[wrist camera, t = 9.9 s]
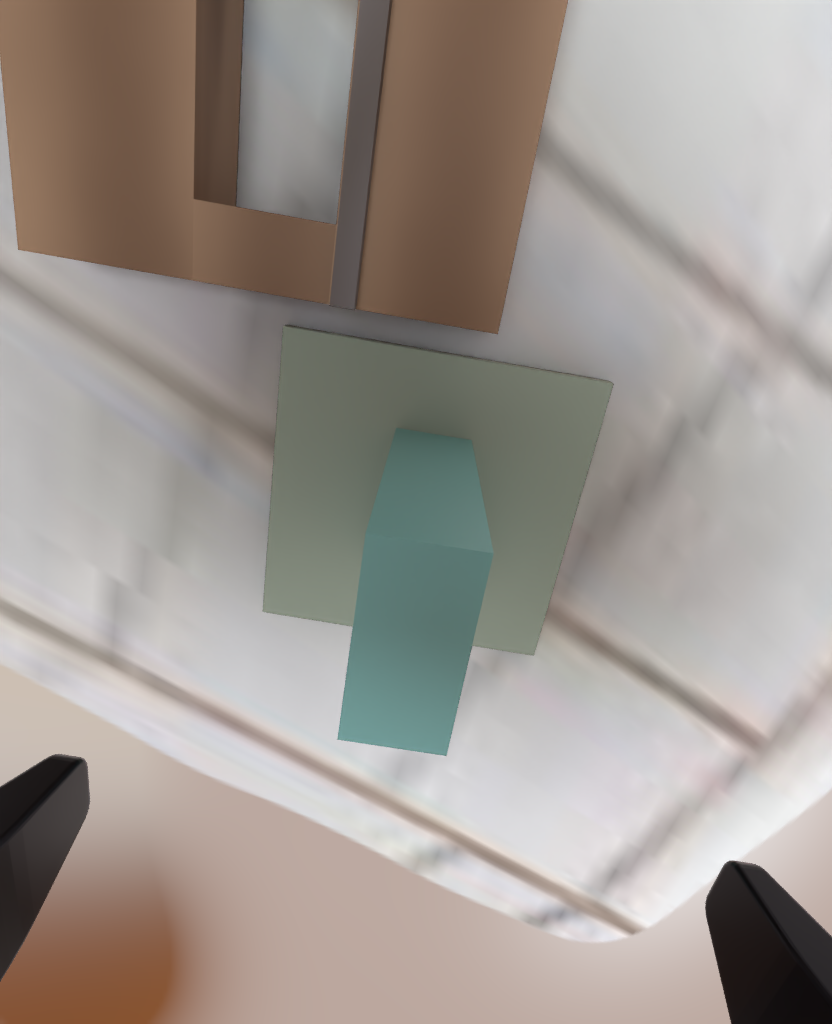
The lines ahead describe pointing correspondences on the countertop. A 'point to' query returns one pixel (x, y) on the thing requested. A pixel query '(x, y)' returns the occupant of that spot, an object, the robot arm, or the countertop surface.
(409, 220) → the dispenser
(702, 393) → the countertop surface
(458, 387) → the mat
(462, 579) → the tall teal box
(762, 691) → the countertop surface
